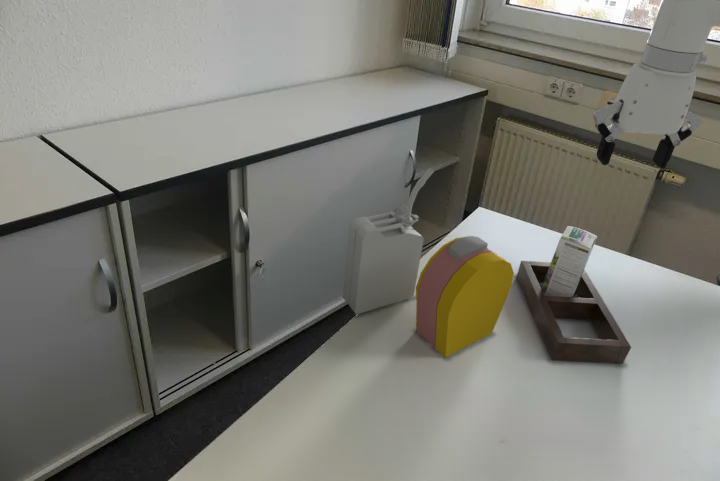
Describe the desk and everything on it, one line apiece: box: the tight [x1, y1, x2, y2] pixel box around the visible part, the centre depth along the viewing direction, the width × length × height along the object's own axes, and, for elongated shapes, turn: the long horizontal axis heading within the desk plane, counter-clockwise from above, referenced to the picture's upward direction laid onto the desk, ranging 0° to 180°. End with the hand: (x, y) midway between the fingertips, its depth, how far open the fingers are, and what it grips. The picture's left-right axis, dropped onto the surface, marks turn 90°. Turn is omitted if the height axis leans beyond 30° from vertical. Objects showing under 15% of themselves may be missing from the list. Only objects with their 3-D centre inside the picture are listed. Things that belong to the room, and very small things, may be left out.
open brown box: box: [516, 260, 632, 365], centre depth 100 cm, size 12×24×4 cm, turn 1°
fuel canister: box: [342, 167, 435, 315], centre depth 95 cm, size 15×5×25 cm, turn 120°
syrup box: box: [541, 225, 598, 297], centre depth 102 cm, size 6×6×14 cm
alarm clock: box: [415, 235, 515, 358], centre depth 90 cm, size 15×8×18 cm, turn 126°
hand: (630, 163), depth 91 cm, fingers open, 9 cm apart
